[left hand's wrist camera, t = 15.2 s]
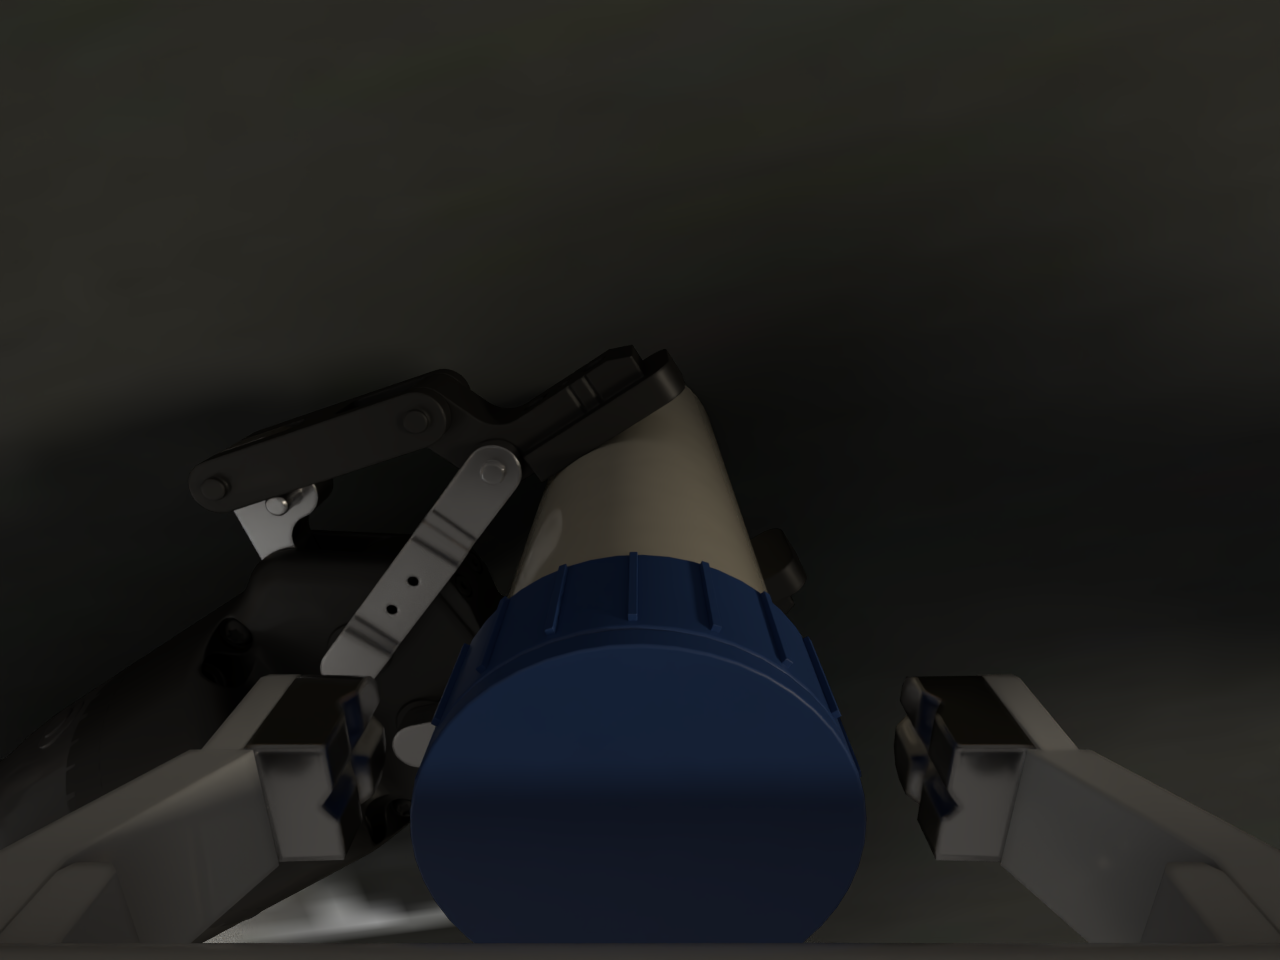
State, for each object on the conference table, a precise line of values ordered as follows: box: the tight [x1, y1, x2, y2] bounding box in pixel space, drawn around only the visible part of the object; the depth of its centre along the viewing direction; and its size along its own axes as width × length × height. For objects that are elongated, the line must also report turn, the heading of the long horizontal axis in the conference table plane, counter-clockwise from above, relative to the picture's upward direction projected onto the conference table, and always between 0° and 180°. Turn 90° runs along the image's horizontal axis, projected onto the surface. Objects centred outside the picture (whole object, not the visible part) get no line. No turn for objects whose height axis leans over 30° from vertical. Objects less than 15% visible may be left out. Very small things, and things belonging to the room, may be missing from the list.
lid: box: [410, 552, 867, 943], centre depth 10 cm, size 6×6×2 cm
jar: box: [507, 385, 768, 599], centre depth 16 cm, size 5×5×15 cm
